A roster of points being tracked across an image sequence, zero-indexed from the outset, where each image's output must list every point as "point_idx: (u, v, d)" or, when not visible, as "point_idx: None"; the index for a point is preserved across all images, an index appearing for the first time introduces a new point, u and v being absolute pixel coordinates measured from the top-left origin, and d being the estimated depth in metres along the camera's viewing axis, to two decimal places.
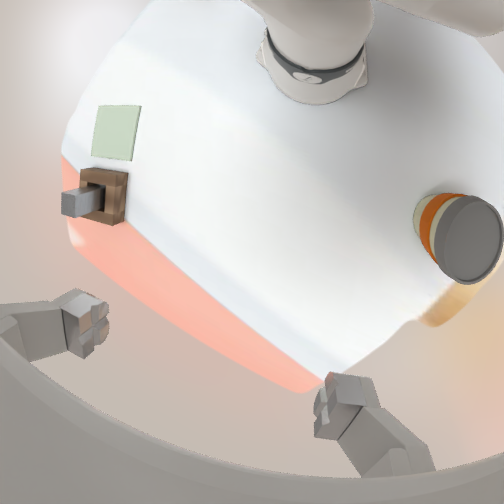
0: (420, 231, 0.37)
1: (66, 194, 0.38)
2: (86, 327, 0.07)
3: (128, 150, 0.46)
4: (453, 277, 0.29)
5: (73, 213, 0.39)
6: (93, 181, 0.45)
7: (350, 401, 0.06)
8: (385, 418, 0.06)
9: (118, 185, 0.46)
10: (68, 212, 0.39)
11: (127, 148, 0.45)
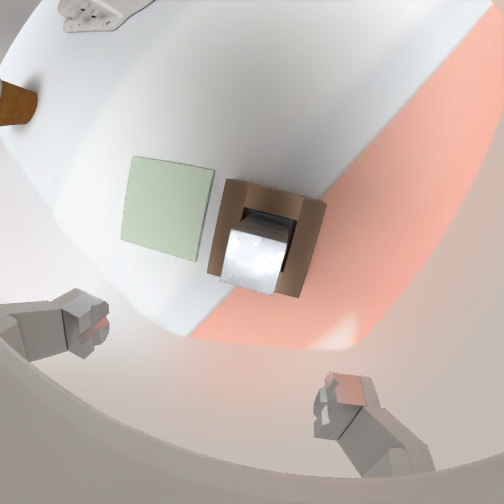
0: None
1: (225, 263, 0.20)
2: (86, 327, 0.07)
3: (195, 172, 0.30)
4: None
5: (275, 247, 0.19)
6: None
7: (350, 401, 0.06)
8: (385, 418, 0.06)
9: (249, 183, 0.27)
10: (272, 265, 0.19)
11: (192, 175, 0.30)
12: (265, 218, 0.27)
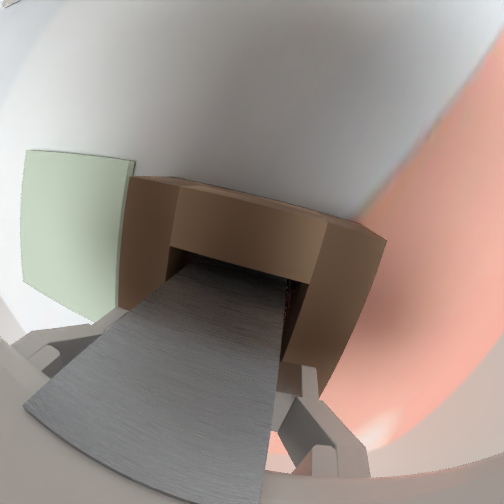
0: None
1: None
2: None
3: (101, 167, 0.13)
4: None
5: None
6: None
7: (284, 389, 0.07)
8: (320, 412, 0.06)
9: (187, 185, 0.11)
10: None
11: (95, 174, 0.13)
12: (227, 272, 0.11)
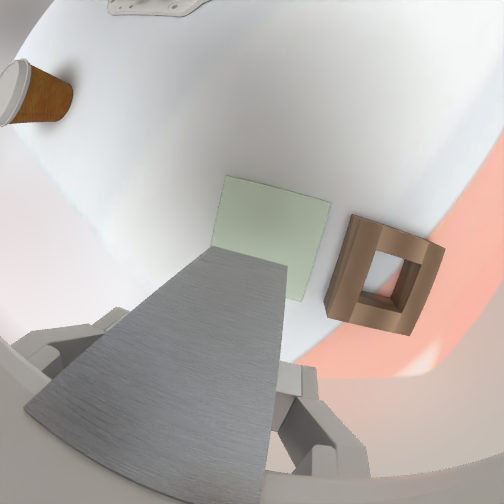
0: None
1: None
2: None
3: (310, 203, 0.26)
4: None
5: None
6: (360, 284, 0.24)
7: (284, 390, 0.07)
8: (320, 412, 0.06)
9: (378, 223, 0.24)
10: None
11: (306, 206, 0.27)
12: (227, 273, 0.11)
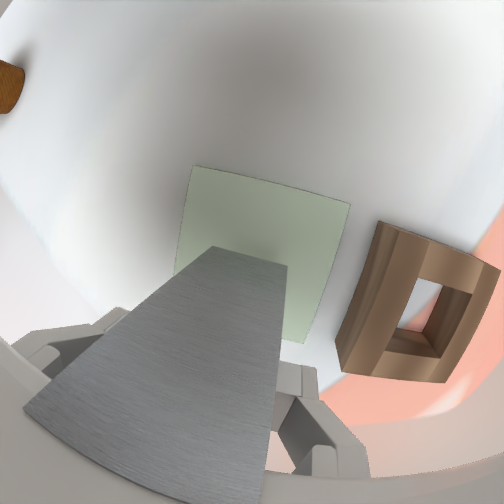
0: None
1: None
2: None
3: (320, 204, 0.17)
4: None
5: None
6: (392, 326, 0.15)
7: (284, 389, 0.07)
8: (320, 412, 0.06)
9: (420, 237, 0.15)
10: None
11: (313, 209, 0.18)
12: (227, 273, 0.11)
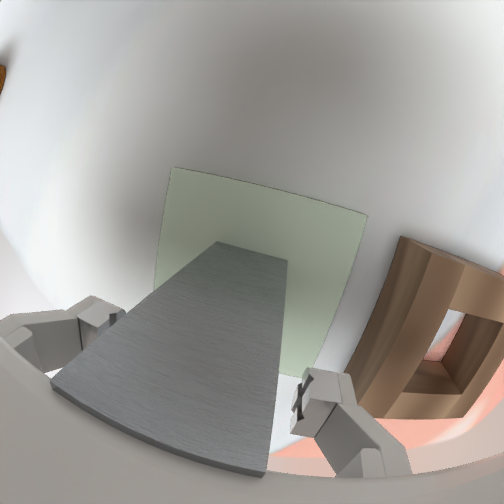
0: None
1: None
2: None
3: (330, 216, 0.14)
4: None
5: None
6: (413, 366, 0.11)
7: (324, 397, 0.07)
8: (361, 417, 0.06)
9: (452, 258, 0.11)
10: None
11: (321, 222, 0.14)
12: (231, 265, 0.12)
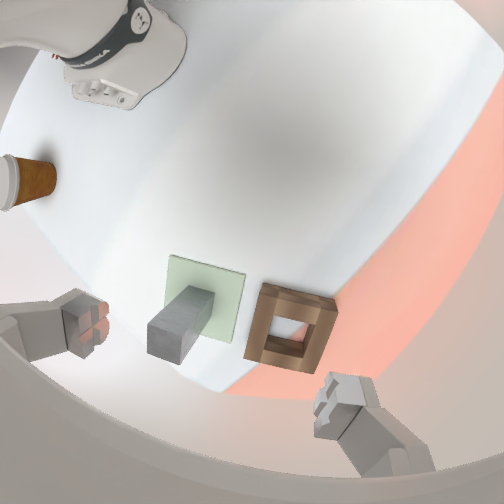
0: None
1: (148, 343, 0.27)
2: (86, 327, 0.07)
3: (229, 276, 0.36)
4: None
5: (175, 337, 0.26)
6: (264, 337, 0.34)
7: (350, 401, 0.06)
8: (385, 418, 0.06)
9: (277, 294, 0.33)
10: (175, 347, 0.26)
11: (226, 278, 0.36)
12: (190, 296, 0.34)
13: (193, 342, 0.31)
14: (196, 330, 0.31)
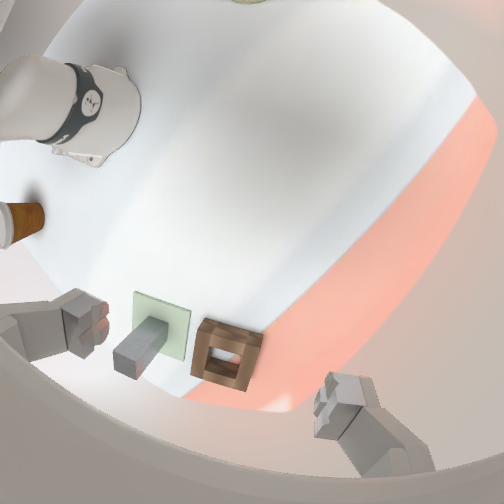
0: None
1: (114, 363, 0.34)
2: (86, 327, 0.07)
3: (178, 311, 0.44)
4: None
5: (131, 361, 0.33)
6: (204, 361, 0.41)
7: (350, 401, 0.06)
8: (385, 418, 0.06)
9: (212, 330, 0.41)
10: (132, 368, 0.34)
11: (176, 313, 0.44)
12: (148, 326, 0.42)
13: (148, 362, 0.38)
14: (150, 354, 0.39)
